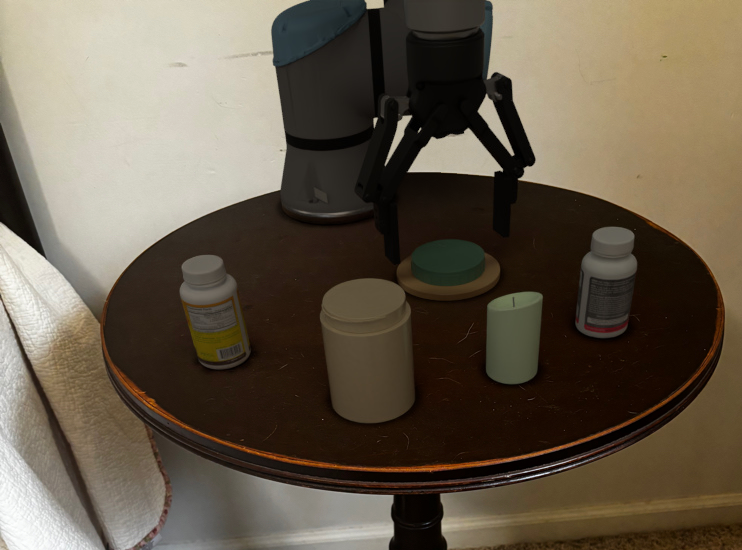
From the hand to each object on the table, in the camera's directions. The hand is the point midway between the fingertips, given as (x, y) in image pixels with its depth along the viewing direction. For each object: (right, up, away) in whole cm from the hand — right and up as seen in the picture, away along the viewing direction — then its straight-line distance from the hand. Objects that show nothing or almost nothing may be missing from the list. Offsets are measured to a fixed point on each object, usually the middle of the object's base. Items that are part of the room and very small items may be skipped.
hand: (447, 246), depth 90 cm
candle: (+6, -17, -12) cm, 22 cm away
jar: (-8, -20, -14) cm, 26 cm away
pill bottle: (+16, -11, -7) cm, 20 cm away
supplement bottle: (-23, -15, -8) cm, 29 cm away
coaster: (0, -3, +2) cm, 4 cm away
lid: (0, -1, +1) cm, 1 cm away
